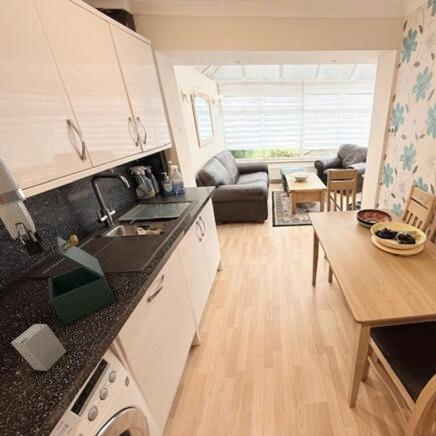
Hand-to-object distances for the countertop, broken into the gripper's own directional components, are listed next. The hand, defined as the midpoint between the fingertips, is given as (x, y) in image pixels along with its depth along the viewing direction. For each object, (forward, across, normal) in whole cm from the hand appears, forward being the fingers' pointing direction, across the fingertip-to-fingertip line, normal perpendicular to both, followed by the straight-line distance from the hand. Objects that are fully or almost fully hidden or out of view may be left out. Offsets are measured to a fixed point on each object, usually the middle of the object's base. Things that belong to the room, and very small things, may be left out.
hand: (36, 248), depth 75 cm
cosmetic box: (+27, +19, -8) cm, 34 cm away
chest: (+27, -3, +4) cm, 28 cm away
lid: (+9, -3, +8) cm, 12 cm away
